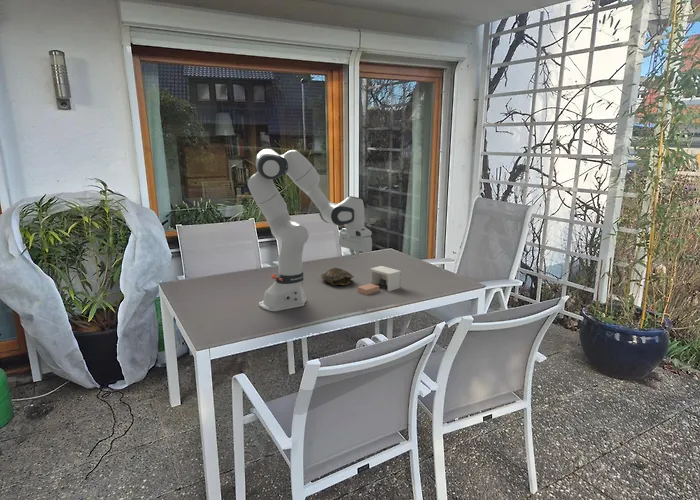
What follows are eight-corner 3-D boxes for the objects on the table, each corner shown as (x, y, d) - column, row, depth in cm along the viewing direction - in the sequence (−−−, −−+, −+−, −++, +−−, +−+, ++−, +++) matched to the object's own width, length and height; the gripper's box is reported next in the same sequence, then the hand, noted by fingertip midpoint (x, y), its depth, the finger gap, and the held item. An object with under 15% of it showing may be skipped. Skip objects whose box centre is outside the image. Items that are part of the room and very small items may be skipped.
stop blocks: (393, 288, 229) (393, 283, 229) (379, 284, 237) (380, 279, 236) (396, 287, 231) (396, 283, 230) (382, 283, 238) (382, 279, 237)
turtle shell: (341, 265, 253) (358, 266, 236) (342, 281, 254) (359, 283, 236) (315, 268, 245) (331, 270, 228) (316, 284, 246) (332, 287, 228)
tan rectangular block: (366, 295, 219) (366, 289, 218) (357, 292, 224) (357, 286, 223) (379, 291, 225) (379, 286, 224) (370, 288, 229) (370, 283, 229)
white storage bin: (389, 291, 224) (389, 273, 222) (370, 285, 234) (370, 268, 232) (400, 287, 230) (400, 270, 228) (381, 282, 240) (381, 265, 238)
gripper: (335, 228, 216) (336, 255, 219) (364, 234, 201) (364, 263, 205) (345, 226, 220) (345, 253, 223) (374, 232, 206) (374, 261, 209)
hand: (354, 258), depth 214 cm, fingers closed
